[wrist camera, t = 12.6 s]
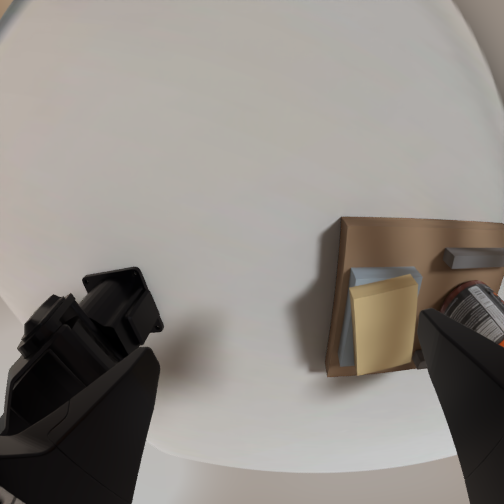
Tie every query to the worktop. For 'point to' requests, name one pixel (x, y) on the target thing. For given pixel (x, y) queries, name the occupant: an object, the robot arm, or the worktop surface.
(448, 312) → the supplement bottle
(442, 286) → the shelf board
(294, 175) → the worktop surface
